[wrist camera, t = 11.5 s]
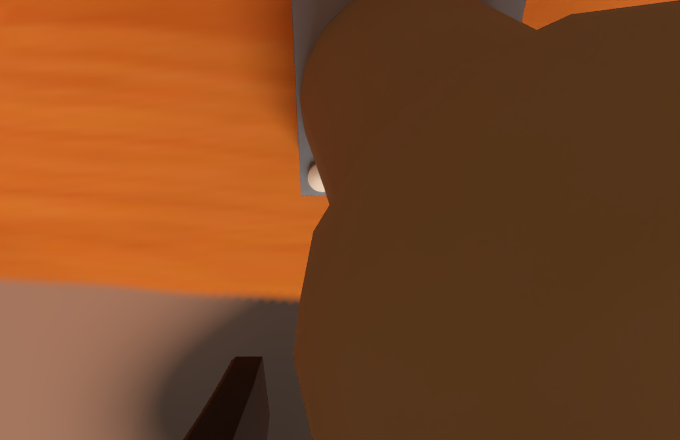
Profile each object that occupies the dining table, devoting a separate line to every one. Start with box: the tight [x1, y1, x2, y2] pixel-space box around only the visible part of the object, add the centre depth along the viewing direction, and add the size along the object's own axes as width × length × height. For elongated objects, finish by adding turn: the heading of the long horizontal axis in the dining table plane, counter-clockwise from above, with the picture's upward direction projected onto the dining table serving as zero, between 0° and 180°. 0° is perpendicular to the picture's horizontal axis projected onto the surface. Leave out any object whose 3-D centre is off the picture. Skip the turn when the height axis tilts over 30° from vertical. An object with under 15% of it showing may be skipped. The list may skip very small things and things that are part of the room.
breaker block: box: [291, 0, 526, 196], centre depth 13 cm, size 6×6×3 cm
